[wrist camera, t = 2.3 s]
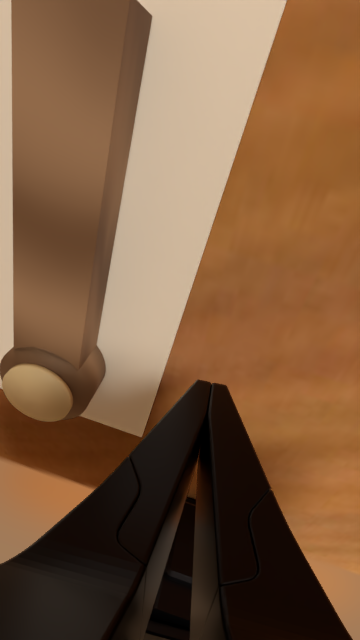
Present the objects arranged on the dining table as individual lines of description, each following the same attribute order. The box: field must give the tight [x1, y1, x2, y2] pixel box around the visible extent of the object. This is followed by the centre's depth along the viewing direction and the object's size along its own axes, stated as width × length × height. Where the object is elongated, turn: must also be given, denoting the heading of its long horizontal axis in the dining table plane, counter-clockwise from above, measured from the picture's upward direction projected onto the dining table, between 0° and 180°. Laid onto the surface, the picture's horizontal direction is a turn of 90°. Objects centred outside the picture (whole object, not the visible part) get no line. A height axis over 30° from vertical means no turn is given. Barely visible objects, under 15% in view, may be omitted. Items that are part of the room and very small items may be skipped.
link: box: [0, 0, 152, 420], centre depth 13 cm, size 16×4×2 cm, turn 165°
